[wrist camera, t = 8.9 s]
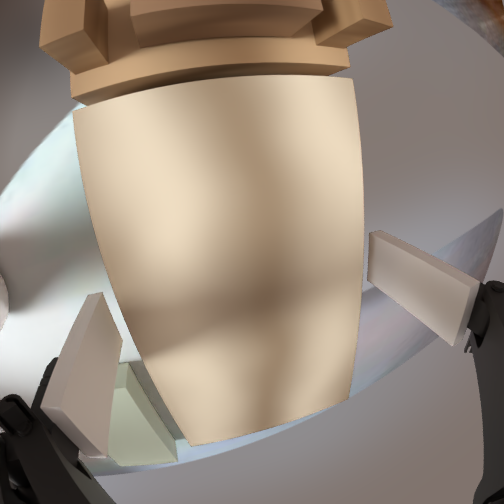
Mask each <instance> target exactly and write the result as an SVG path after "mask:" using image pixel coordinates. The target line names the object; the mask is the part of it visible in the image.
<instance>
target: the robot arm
mask: <svg viewBox="0 0 504 504" xmlns="http://www.w3.org/2000/svg"><path fill="white" fill-rule="evenodd" d="M367 280H368V281H369V282H370V283H372V284H373V285H374V286H376V287H377V288H378V289H380V290H381V291H382V292H384V293H385V294H386V295H388V296H389V297H390V298H392V299H393V300H394V301H395V302H397V303H398V304H399V305H401V306H402V307H403V308H405V309H406V310H407V311H408V312H410V313H411V314H412V315H414V316H415V317H416V318H417V319H419V320H420V321H421V322H422V323H424V324H425V325H426V326H427V327H429V328H430V329H431V330H432V331H434V332H435V333H436V334H437V335H439V336H440V337H441V338H442V339H444V340H445V341H446V342H447V343H449V344H450V345H451V346H454V345H456V344H457V343H459V342H460V341H461V340H462V339H463V337H464V334H465V332H466V329H467V328H469V329H470V330H471V333H470V336H469V338H468V341H467V344H466V346H465V349H464V352H465V353H466V352H467V349H468V347H469V346H471V349H470V353H473V357H474V362H475V367H476V372H477V379H478V385H479V392H480V400H481V408H482V419H483V437H484V470H483V477H482V480H481V481H480V483H479V485H478V487H477V489H476V492H475V494H474V499H473V504H504V283H502V282H499V281H488V282H487V283H486V284H485V285H484V284H483V283H481V282H480V281H478V280H476V279H474V278H473V277H471V276H469V275H467V274H466V273H464V272H462V271H460V270H458V269H456V268H455V267H453V266H451V265H449V264H447V263H445V262H443V261H442V260H440V259H438V258H436V257H434V256H432V255H430V254H428V253H426V252H424V251H422V250H420V249H418V248H416V247H414V246H412V245H410V244H408V243H406V242H404V241H402V240H400V239H397V238H395V237H393V236H391V235H389V234H387V233H385V232H383V231H381V230H380V231H375V232H371V233H369V256H368V275H367ZM122 342H123V340H122V338H121V336H120V334H119V331H118V329H117V327H116V324H115V322H114V320H113V317H112V315H111V313H110V310H109V308H108V305H107V303H106V300H105V298H104V295H103V292H100V293H95V294H90V295H88V296H87V298H86V300H85V302H84V304H83V306H82V308H81V310H80V312H79V314H78V316H77V318H76V320H75V322H74V324H73V326H72V328H71V330H70V333H69V335H68V337H67V339H66V342H65V344H64V346H63V348H62V351H61V353H60V355H59V357H56V358H54V359H53V360H52V361H51V362H50V363H49V365H48V366H47V367H46V370H45V372H44V374H43V378H42V379H41V382H40V386H39V387H38V390H37V392H36V395H35V398H34V400H33V403H32V406H31V409H30V408H29V407H28V405H27V404H26V403H25V402H24V400H23V399H22V398H21V397H20V396H19V395H16V394H10V395H8V396H6V397H4V398H3V399H2V400H0V426H1V427H2V429H3V430H4V431H5V432H4V433H0V504H116V503H115V502H114V501H113V499H112V498H111V497H110V496H109V495H108V494H107V493H106V492H105V490H104V489H103V488H102V487H101V486H100V484H99V483H98V482H97V481H96V479H95V478H94V477H93V475H92V474H91V473H90V472H89V470H88V469H87V468H86V466H85V465H84V463H83V462H82V461H81V460H80V459H79V458H78V453H79V450H80V451H81V452H82V453H84V454H85V455H86V456H87V457H88V458H107V453H108V439H109V428H110V419H111V410H112V402H113V395H114V388H115V381H116V375H117V369H118V363H119V358H120V352H121V347H122Z"/></svg>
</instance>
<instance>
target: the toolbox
mask: <svg viewBox="0 0 504 504" xmlns="http://www.w3.org/2000/svg"><path fill="white" fill-rule="evenodd" d="M321 3H322V7H323V11H322V12H321V13H320V14H318V15H317V16H316V17H314V18H313V19H312V20H310V21H309V22H308V23H307V24H305V25H304V26H303V27H302V28H301V29H299V30H298V31H297V32H296V33H295V34H293V35H292V36H291V37H283V36H232V37H216V38H204V39H195V40H187V41H179V42H173V43H167V44H161V45H156V46H151V47H146V48H141V49H140V47H139V43H138V40H137V37H136V33H135V30H134V27H133V23H132V20H131V17H130V0H45V3H44V9H43V16H42V23H41V32H40V44H39V48H41V49H42V50H43V51H44V52H46V53H47V54H48V55H50V56H51V57H53V58H54V59H55V60H56V61H58V62H59V63H60V64H62V65H63V66H64V67H66V68H67V69H68V70H70V82H71V98H73V99H75V100H77V101H78V102H80V103H82V104H84V105H86V106H90V105H93V104H96V103H99V102H103V101H106V100H109V99H113V98H116V97H120V96H124V95H128V94H132V93H136V92H140V91H145V90H149V89H154V88H159V87H164V86H169V85H175V84H181V83H187V82H194V81H201V80H209V79H218V78H228V77H241V76H259V75H311V76H329V75H331V74H334V73H336V72H339V71H342V70H344V69H347V68H349V67H350V61H349V56H348V51H347V47H348V46H350V45H352V44H354V43H356V42H359V41H361V40H363V39H365V38H368V37H370V36H372V35H375V34H377V33H380V32H382V31H384V30H387V29H390V28H392V27H393V24H392V20H391V17H390V13H389V10H388V7H387V4H386V1H385V0H321Z"/></svg>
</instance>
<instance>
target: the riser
mask: <svg viewBox="0 0 504 504" xmlns="http://www.w3.org/2000/svg"><path fill="white" fill-rule="evenodd" d="M107 454H108V455H109V456H110V457H111V458H112V459H113V460H114V461H115V462H116V463H117V464H118V465H119V466H138V465H152V464H163V463H171V462H178V458H177V450H176V442H175V439H174V438H173V437H172V435H171V434H170V432H169V431H168V429H167V428H166V426H165V425H164V423H163V422H162V420H161V418H160V417H159V415H158V414H157V412H156V410H155V409H154V407H153V406H152V404H151V402H150V401H149V399H148V397H147V395H146V394H145V392H144V390H143V389H142V387H141V385H140V383H139V381H138V380H137V378H136V376H135V374H134V372H133V370H132V368H131V366H130V365H129V363H128V362H127V363H121V364H118V369H117V375H116V381H115V388H114V395H113V402H112V410H111V419H110V428H109V439H108V453H107Z"/></svg>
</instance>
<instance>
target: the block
mask: <svg viewBox="0 0 504 504" xmlns="http://www.w3.org/2000/svg"><path fill="white" fill-rule="evenodd" d="M322 11H323V7H322V3H321V0H130V17H131V20H132V23H133V27H134V30H135V33H136V37H137V40H138V43H139V47H140V49H141V48H146V47H151V46H156V45H161V44H167V43H173V42H179V41H187V40H195V39H204V38H216V37H232V36H283V37H291V36H292V35H293V34H295V33H296V32H297V31H298V30H299V29H301V28H302V27H303V26H304V25H305V24H307V23H308V22H309V21H310V20H312V19H313V18H314V17H316V16H317V15H318V14H320V13H321V12H322Z"/></svg>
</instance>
